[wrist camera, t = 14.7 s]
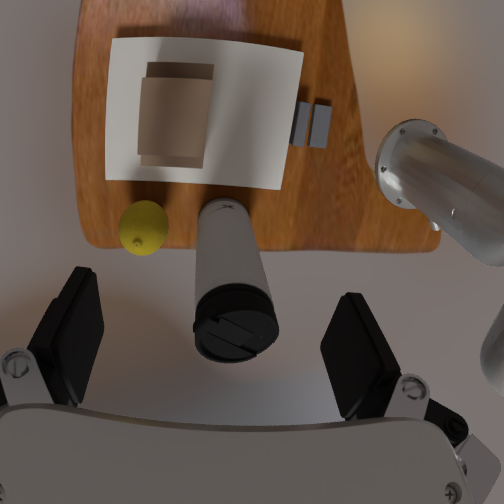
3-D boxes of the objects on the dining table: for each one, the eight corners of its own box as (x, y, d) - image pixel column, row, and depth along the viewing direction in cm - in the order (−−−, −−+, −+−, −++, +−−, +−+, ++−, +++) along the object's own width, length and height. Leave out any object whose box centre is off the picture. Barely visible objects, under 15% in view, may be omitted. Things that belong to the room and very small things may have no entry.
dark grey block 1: (311, 103, 31) (300, 101, 30) (303, 147, 33) (292, 145, 33) (305, 102, 32) (295, 100, 32) (298, 143, 35) (288, 141, 35)
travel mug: (218, 184, 36) (229, 295, 19) (259, 217, 39) (300, 337, 22) (185, 222, 38) (172, 348, 21) (226, 251, 41) (242, 380, 24)
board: (300, 53, 29) (304, 52, 28) (277, 185, 37) (280, 190, 36) (116, 40, 25) (112, 38, 24) (109, 175, 33) (105, 179, 32)
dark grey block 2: (315, 104, 32) (312, 103, 33) (309, 146, 34) (306, 144, 35) (332, 107, 32) (328, 106, 33) (325, 148, 34) (322, 146, 35)
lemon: (133, 185, 35) (115, 213, 28) (177, 198, 36) (170, 229, 29) (123, 225, 37) (107, 260, 30) (165, 237, 39) (157, 274, 32)
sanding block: (213, 66, 28) (214, 63, 22) (203, 157, 33) (202, 173, 28) (155, 63, 27) (143, 60, 21) (148, 154, 32) (137, 170, 26)
